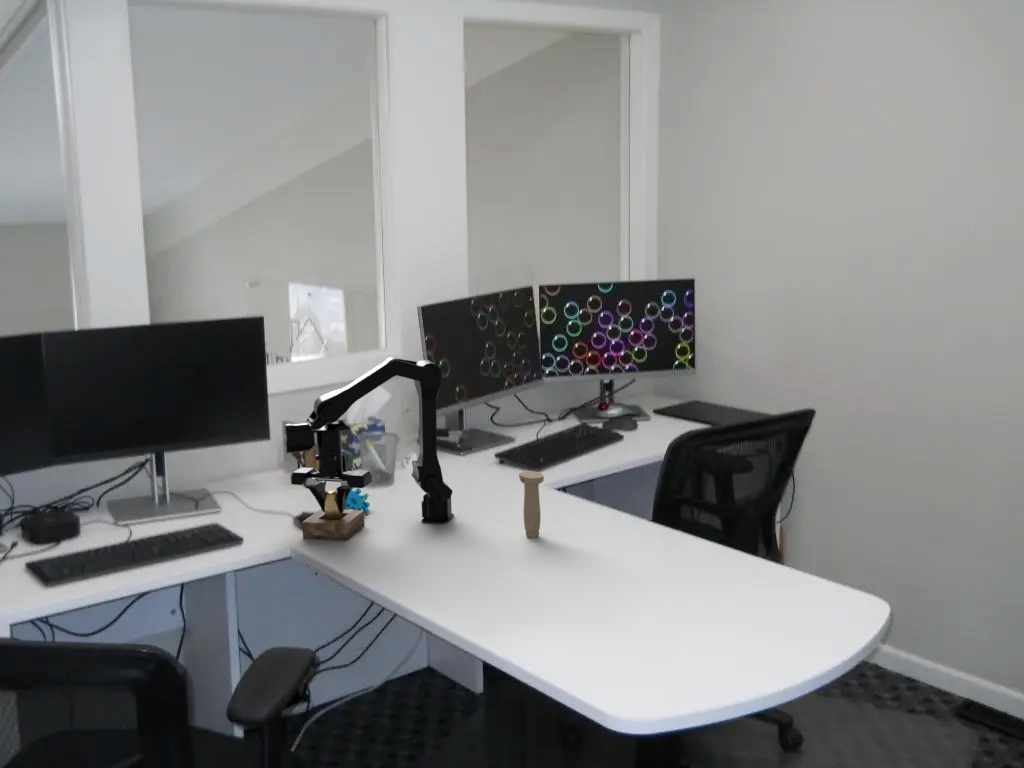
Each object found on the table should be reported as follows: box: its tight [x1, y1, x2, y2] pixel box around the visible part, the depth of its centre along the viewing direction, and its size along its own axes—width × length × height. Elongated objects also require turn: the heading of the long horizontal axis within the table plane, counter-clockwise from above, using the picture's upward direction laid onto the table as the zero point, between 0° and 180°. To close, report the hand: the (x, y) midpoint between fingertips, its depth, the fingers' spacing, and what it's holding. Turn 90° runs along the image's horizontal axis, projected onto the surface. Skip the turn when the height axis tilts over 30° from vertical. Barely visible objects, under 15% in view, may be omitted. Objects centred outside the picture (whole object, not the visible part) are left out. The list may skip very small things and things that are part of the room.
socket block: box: [301, 508, 365, 542], centre depth 240 cm, size 11×11×4 cm
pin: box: [324, 489, 342, 521], centre depth 239 cm, size 4×4×8 cm
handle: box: [518, 470, 545, 539], centre depth 233 cm, size 5×6×15 cm
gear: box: [335, 485, 371, 516], centre depth 254 cm, size 11×6×10 cm
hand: (333, 512), depth 239 cm, fingers closed on pin, 4 cm apart
